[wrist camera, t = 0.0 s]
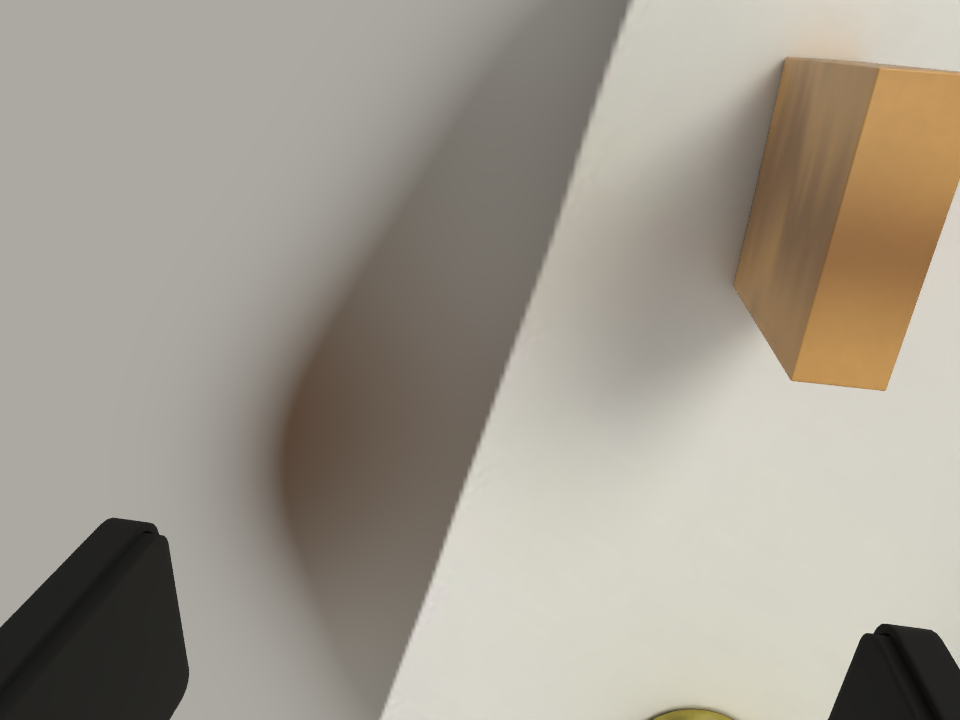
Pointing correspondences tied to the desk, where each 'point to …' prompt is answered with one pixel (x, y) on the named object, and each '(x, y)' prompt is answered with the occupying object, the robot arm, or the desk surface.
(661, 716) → the vase
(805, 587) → the desk surface
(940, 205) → the golden wooden block
